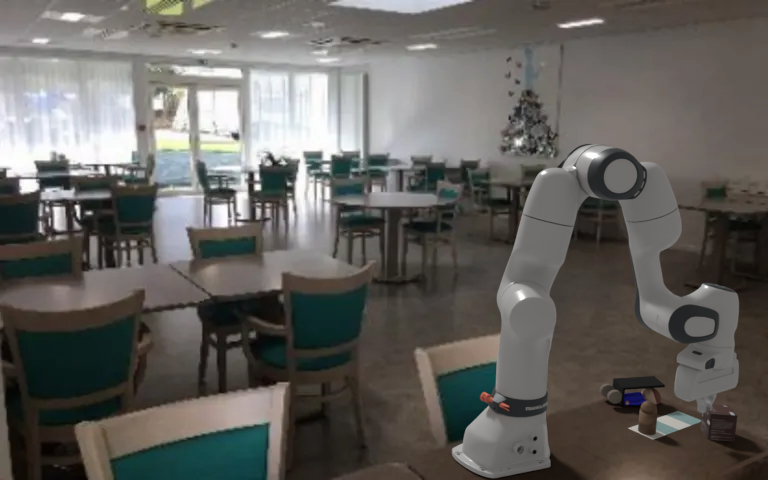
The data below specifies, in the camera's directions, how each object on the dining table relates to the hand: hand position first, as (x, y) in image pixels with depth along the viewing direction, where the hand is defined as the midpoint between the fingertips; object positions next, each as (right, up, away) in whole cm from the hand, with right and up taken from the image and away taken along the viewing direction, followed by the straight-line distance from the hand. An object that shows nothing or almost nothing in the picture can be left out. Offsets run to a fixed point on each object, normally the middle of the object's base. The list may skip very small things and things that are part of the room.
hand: (704, 411), depth 153 cm
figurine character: (-9, -5, +22) cm, 24 cm away
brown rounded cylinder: (-11, -6, +5) cm, 14 cm away
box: (+5, -8, +4) cm, 10 cm away
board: (-5, -6, +9) cm, 12 cm away
